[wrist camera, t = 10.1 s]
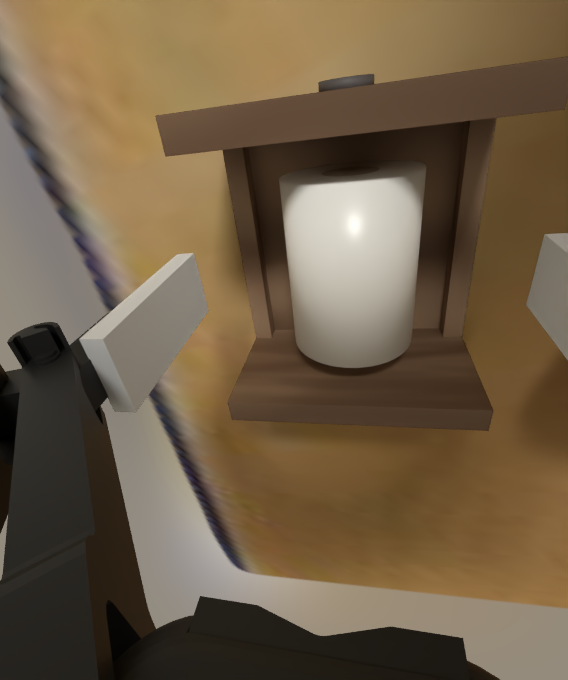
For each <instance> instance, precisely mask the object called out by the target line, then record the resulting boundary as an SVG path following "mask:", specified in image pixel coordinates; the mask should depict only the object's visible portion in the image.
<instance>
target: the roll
mask: <svg viewBox="0 0 568 680" xmlns="http://www.w3.org/2000/svg"><path fill="white" fill-rule="evenodd" d="M425 177H426V164H424V163H422V162H417V161H410V160H369V161H355V162H345V163H336V164H329V165H322V166H316V167H311V168H306V169H301V170H297V171H294V172H291V173H288V174H285V175H283V176H281V177H280V178H279V184H280V193H281V203H282V212H283V222H284V232H285V241H286V251H287V260H288V270H289V279H290V289H291V299H292V308H293V318H294V327H295V337H296V343H297V346H298V348H299V349H300V350H301V352H303V353H304V354H305V355H306V356H307V357H309V358H311V359H313V360H315V361H317V362H320V363H322V364H326V365H329V366H335V367H343V368H363V367H371V366H376V365H380V364H383V363H387V362H389V361H391V360H394V359H395V358H397V357H399V356H400V355H402V354H403V353H404V352H405V351H406V350H407V349H408V347H409V346H410V343H411V339H412V328H413V316H414V305H415V293H416V281H417V270H418V258H419V247H420V235H421V223H422V212H423V200H424V189H425Z"/></svg>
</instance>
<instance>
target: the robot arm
mask: <svg viewBox="0 0 568 680" xmlns="http://www.w3.org/2000/svg"><path fill="white" fill-rule="evenodd" d="M526 306H527V307H528V308H529V310H530V311H531V312H532V314H533V315H534V316H535V318H536V319H537V320H538V322H539V323H540V324H541V326H542V327H543V328H544V330H545V331H546V332H547V334H548V335H549V336H550V337H551V339H552V340H553V341H554V343H555V344H556V345H557V347H558V348H559V349H560V351H561V352H562V353H563V355H564V356H565V357H566V359H567V360H568V233H559V234H544V238H543V242H542V246H541V250H540V254H539V257H538V261H537V265H536V269H535V273H534V277H533V280H532V284H531V288H530V292H529V296H528V300H527V304H526ZM208 311H209V310H208V306H207V302H206V299H205V295H204V291H203V287H202V283H201V279H200V275H199V271H198V267H197V264H196V260H195V256H194V253H191V254H177V255H176V256H175V257H173V258H172V259H171V260H170V261H169V262H168V263H167V264H165V265H164V266H163V267H162V268H161V269H160V270H158V271H157V272H156V273H155V274H154V275H153V276H152V277H150V278H149V279H148V280H147V281H146V282H145V283H143V284H142V285H141V286H140V287H139V288H138V289H136V290H135V291H134V292H133V293H132V294H131V295H130V296H128V297H127V298H126V299H125V300H124V301H123V302H121V303H120V304H119V305H118V306H117V307H116V308H115V309H113V310H112V311H111V312H109V313H107V314H106V315H105V316H103V317H102V318H101V319H100V320H99V321H98V322H97V323H96V324H94V325H93V326H92V327H91V328H90V330H87V331H86V332H85V333H84V334H82V335H81V336H80V337H79V338H78V339H77V340H76V341H74V342H73V343H72V344H71V345H70V346H69V344H68V342H67V340H66V338H65V336H64V334H63V332H62V330H61V328H60V326H59V325H58V324H57V323H54V322H47V323H40V324H37V325H33V326H30V327H28V328H25V329H23V330H21V331H19V332H17V333H16V334H14V335H13V336H12V337H10V339H9V340H8V342H7V343H8V345H9V346H10V348H11V350H12V351H13V353H14V354H15V356H16V357H17V359H18V361H19V362H20V364H21V366H22V369H18V370H13V371H7V372H5V371H4V369H3V368H2V366H1V365H0V533H1V530H2V528H3V525H4V522H5V520H6V518H7V515H8V523H7V533H6V545H5V555H4V567H3V575H2V579H1V581H0V680H500V679H499V678H497V677H495V676H494V675H492V674H490V673H489V672H487V671H486V670H484V669H482V668H481V667H479V666H477V665H475V664H473V663H471V662H469V661H467V659H466V653H465V648H464V642H463V638H459V637H452V636H446V635H440V634H433V633H427V632H420V631H414V630H409V629H402V628H396V627H385V628H378V629H372V630H365V631H358V632H351V633H344V634H337V635H331V636H318V635H315V634H313V633H310V632H309V631H307V630H305V629H303V628H301V627H299V626H297V625H295V624H293V623H291V622H289V621H287V620H285V619H283V618H281V617H279V616H277V615H275V614H273V613H271V612H269V611H268V610H265V609H264V608H262V607H259V606H257V605H252V604H246V603H239V602H233V601H227V600H221V599H215V598H208V597H202V596H200V598H199V601H198V604H197V607H196V610H195V613H194V615H193V616H188V617H184V618H182V619H178V620H175V621H172V622H170V623H168V624H166V625H164V626H162V627H159V628H158V629H156V628H155V626H154V623H153V621H152V618H151V616H150V613H149V610H148V607H147V603H146V598H145V594H144V589H143V585H142V580H141V576H140V571H139V567H138V562H137V558H136V553H135V549H134V544H133V540H132V535H131V531H130V526H129V521H128V517H127V512H126V508H125V503H124V499H123V494H122V490H121V485H120V481H119V477H118V472H117V467H116V463H115V458H114V454H113V449H112V444H111V440H110V435H109V431H108V427H107V422H106V418H105V414H104V412H103V410H102V408H101V404H102V403H103V402H104V401H105V399H106V398H107V397H108V399H109V401H110V403H111V405H112V407H113V409H114V411H118V412H136V411H137V410H138V409H139V407H140V406H141V405H142V403H143V402H144V400H145V399H146V398H147V396H148V395H149V393H150V392H151V391H152V389H153V388H154V386H155V385H156V384H157V382H158V381H159V379H160V378H161V377H162V375H163V374H164V372H165V371H166V370H167V368H168V367H169V365H170V364H171V363H172V361H173V360H174V358H175V357H176V356H177V354H178V353H179V351H180V350H181V349H182V347H183V346H184V344H185V343H186V342H187V340H188V339H189V338H190V336H191V335H192V333H193V332H194V331H195V329H196V328H197V326H198V325H199V324H200V322H201V321H202V319H203V318H204V317H205V315H206V314H207V312H208Z"/></svg>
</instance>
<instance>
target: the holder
mask: <svg viewBox="0 0 568 680" xmlns="http://www.w3.org/2000/svg"><path fill="white" fill-rule="evenodd" d="M318 84H319V92H317V93H310V94H303V95H296V96H289V97H282V98H275V99H269V100H262V101H255V102H248V103H241V104H234V105H227V106H220V107H213V108H206V109H199V110H192V111H185V112H178V113H171V114H164V115H157V116H155V117H156V121H157V125H158V129H159V132H160V136H161V140H162V144H163V148H164V152H165V156H175V155H183V154H192V153H200V152H209V151H217V150H223V155H224V161H225V166H226V172H227V178H228V183H229V189H230V194H231V200H232V205H233V211H234V217H235V222H236V228H237V233H238V239H239V244H240V250H241V256H242V261H243V267H244V272H245V278H246V283H247V289H248V295H249V300H250V306H251V311H252V317H253V322H254V328H255V334H256V340H255V342H254V344H253V347H252V349H251V351H250V353H249V356H248V358H247V360H246V362H245V364H244V367H243V369H242V371H241V373H240V376H239V378H238V380H237V382H236V384H235V387H234V389H233V391H232V393H231V396H230V398H229V400H228V405H229V409H230V413H231V417H232V420H248V421H272V422H295V423H319V424H342V425H365V426H389V427H412V428H436V429H459V430H482V431H489V427H490V423H491V418H492V414H493V408H492V406H491V404H490V401H489V399H488V397H487V394H486V392H485V390H484V387H483V385H482V383H481V380H480V378H479V376H478V373H477V371H476V369H475V366H474V364H473V362H472V359H471V357H470V355H469V352H468V350H467V348H466V345H465V343H464V341H463V338H462V334H463V328H464V321H465V315H466V309H467V302H468V296H469V289H470V283H471V277H472V270H473V264H474V258H475V251H476V245H477V239H478V232H479V226H480V220H481V213H482V207H483V200H484V194H485V188H486V181H487V175H488V169H489V162H490V156H491V150H492V143H493V137H494V131H495V124H496V118H497V117H506V116H514V115H523V114H531V113H540V112H548V111H557V110H565V106H566V102H567V98H568V57H561V58H554V59H547V60H540V61H533V62H526V63H519V64H512V65H505V66H498V67H491V68H484V69H477V70H470V71H463V72H456V73H449V74H442V75H435V76H428V77H422V78H415V79H408V80H401V81H394V82H387V83H380V84H374V74H367V75H357V76H350V77H343V78H337V79H331V80H326V81H322V82H319V83H318ZM369 160H410V161H417V162H422V163H424V164H426V177H425V189H424V200H423V212H422V223H421V235H420V247H419V258H418V270H417V281H416V293H415V305H414V316H413V328H412V339H411V343H410V346H409V347H408V349H407V350H406V351H405V352H404V353H403V354H402V355H400V356H399V357H397V358H395V359H394V360H391V361H389V362H387V363H383V364H380V365H376V366H371V367H363V368H343V367H335V366H329V365H326V364H322V363H320V362H317V361H315V360H313V359H311V358H309V357H307V356H306V355H305V354H304V353H303V352H301V350H300V349H299V348H298V346H297V343H296V337H295V327H294V318H293V308H292V299H291V289H290V279H289V270H288V260H287V251H286V241H285V232H284V222H283V212H282V203H281V193H280V184H279V178H280V177H281V176H283V175H285V174H288V173H291V172H294V171H297V170H301V169H306V168H311V167H316V166H322V165H329V164H336V163H345V162H355V161H369Z"/></svg>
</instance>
